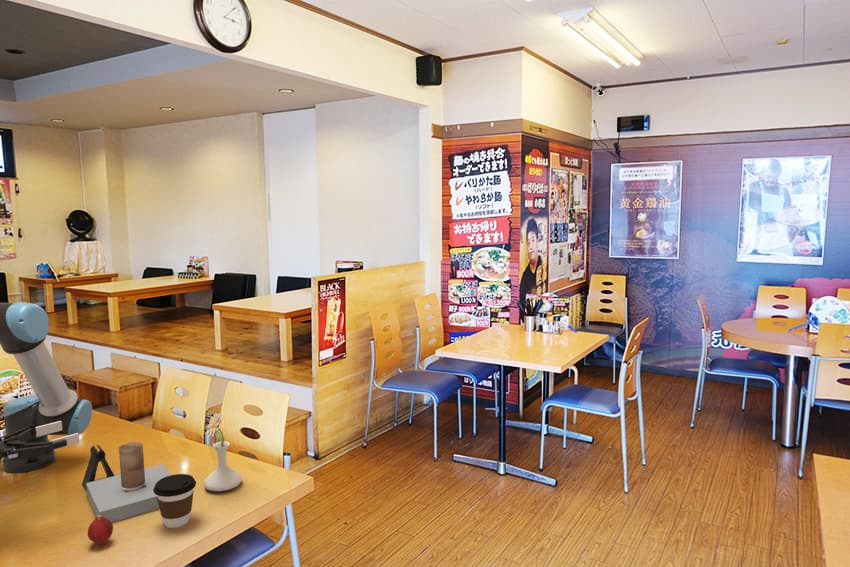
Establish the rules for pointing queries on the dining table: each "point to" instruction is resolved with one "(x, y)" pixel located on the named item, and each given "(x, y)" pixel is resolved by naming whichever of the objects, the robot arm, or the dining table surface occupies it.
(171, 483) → the coffee cup
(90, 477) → the phone stand
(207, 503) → the dining table surface
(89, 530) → the onion
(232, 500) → the dining table surface
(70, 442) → the robot arm
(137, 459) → the walnut peg
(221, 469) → the flower in vase
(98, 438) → the dining table surface
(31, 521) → the dining table surface
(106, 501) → the slate board
